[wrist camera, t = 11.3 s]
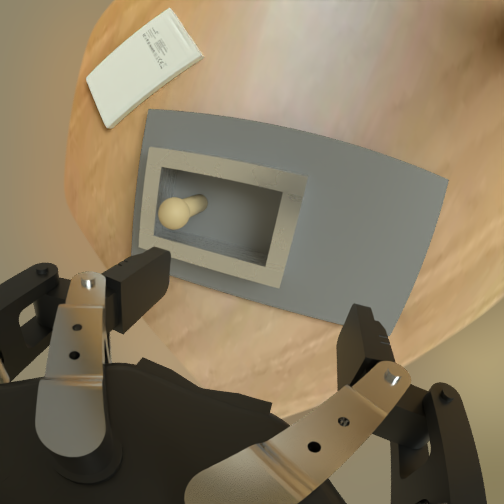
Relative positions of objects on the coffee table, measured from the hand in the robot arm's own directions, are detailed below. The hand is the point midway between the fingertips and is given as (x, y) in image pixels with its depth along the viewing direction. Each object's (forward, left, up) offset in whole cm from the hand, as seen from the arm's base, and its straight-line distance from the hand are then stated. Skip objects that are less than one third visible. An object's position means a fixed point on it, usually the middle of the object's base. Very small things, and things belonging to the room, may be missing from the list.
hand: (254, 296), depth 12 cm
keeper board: (+1, 0, -15) cm, 15 cm away
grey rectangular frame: (+6, 0, -13) cm, 15 cm away
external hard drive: (+18, -13, -15) cm, 27 cm away
